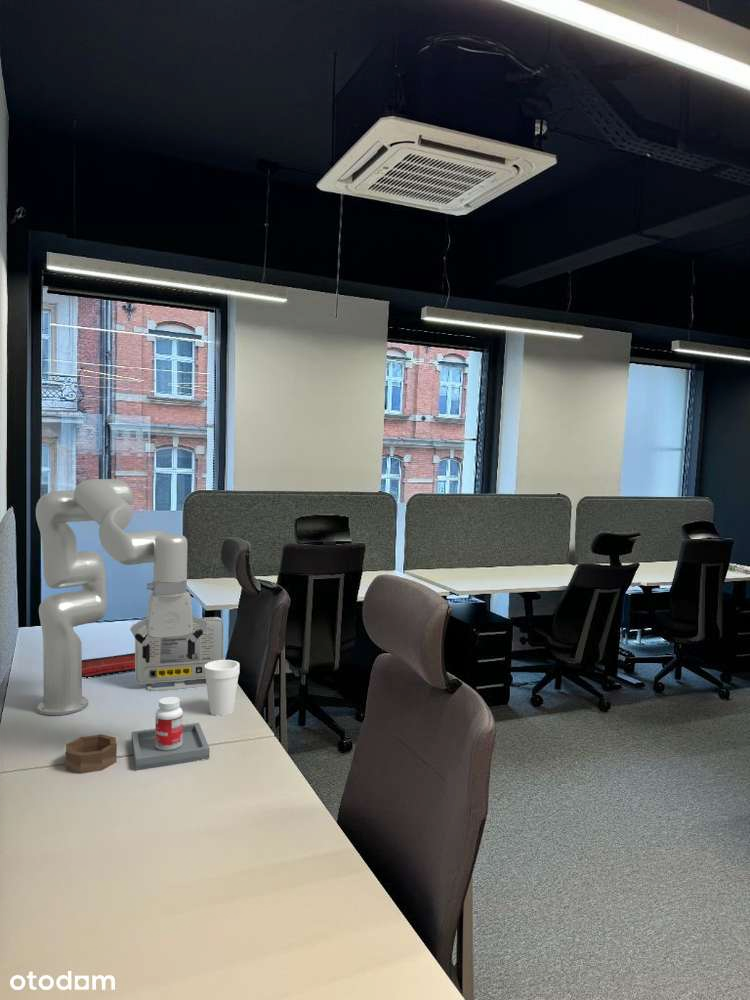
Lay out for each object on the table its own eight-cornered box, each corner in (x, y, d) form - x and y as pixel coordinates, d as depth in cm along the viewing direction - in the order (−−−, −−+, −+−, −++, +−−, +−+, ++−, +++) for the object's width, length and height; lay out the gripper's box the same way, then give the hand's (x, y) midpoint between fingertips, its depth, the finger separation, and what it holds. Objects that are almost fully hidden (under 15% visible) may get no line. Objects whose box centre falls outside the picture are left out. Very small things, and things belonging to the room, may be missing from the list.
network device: (220, 677, 209) (221, 615, 208) (223, 686, 201) (224, 621, 200) (135, 683, 201) (135, 619, 200) (134, 693, 193) (134, 626, 192)
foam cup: (230, 719, 175) (230, 671, 174) (198, 716, 177) (198, 668, 176) (244, 706, 184) (244, 661, 183) (213, 703, 186) (214, 658, 185)
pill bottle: (150, 746, 155) (150, 700, 155) (172, 738, 160) (173, 693, 159) (164, 753, 151) (165, 707, 151) (187, 745, 156) (188, 700, 155)
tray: (131, 741, 160) (131, 731, 160) (198, 732, 166) (198, 722, 166) (135, 770, 145) (135, 759, 145) (209, 758, 152) (209, 748, 151)
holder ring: (66, 755, 152) (66, 738, 151) (115, 748, 156) (115, 732, 155) (65, 775, 142) (65, 757, 142) (117, 767, 146) (117, 750, 146)
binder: (74, 659, 217) (140, 651, 229) (74, 666, 217) (139, 658, 229) (82, 675, 204) (152, 665, 215) (82, 682, 204) (151, 672, 216)
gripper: (131, 592, 147) (130, 667, 148) (210, 589, 154) (208, 660, 155) (129, 586, 153) (128, 657, 155) (205, 582, 160) (203, 651, 162)
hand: (168, 659), depth 155 cm, fingers open, 9 cm apart
